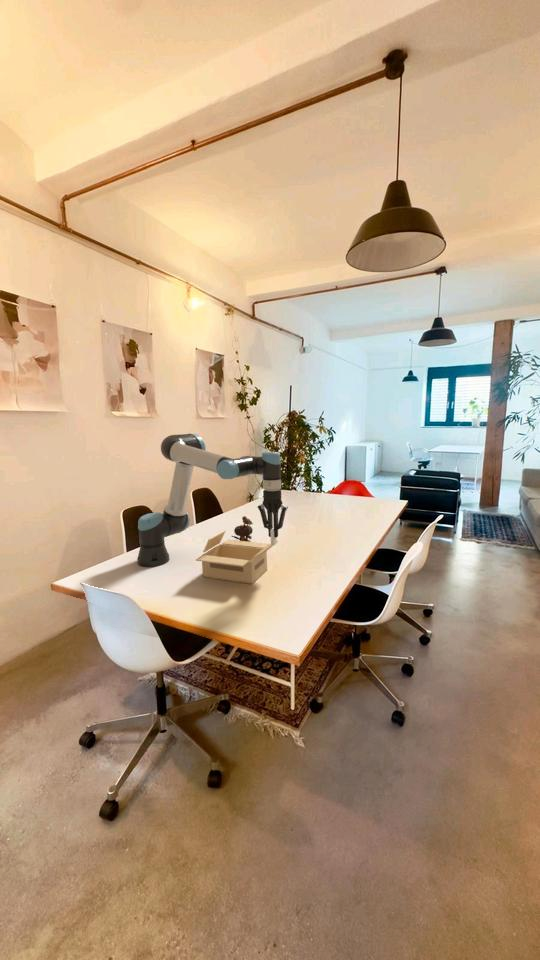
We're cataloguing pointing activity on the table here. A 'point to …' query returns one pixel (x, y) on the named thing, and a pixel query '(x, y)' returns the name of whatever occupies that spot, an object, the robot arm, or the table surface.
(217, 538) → the flap
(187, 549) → the table surface
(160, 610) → the table surface
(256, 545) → the carton
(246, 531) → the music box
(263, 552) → the flap
